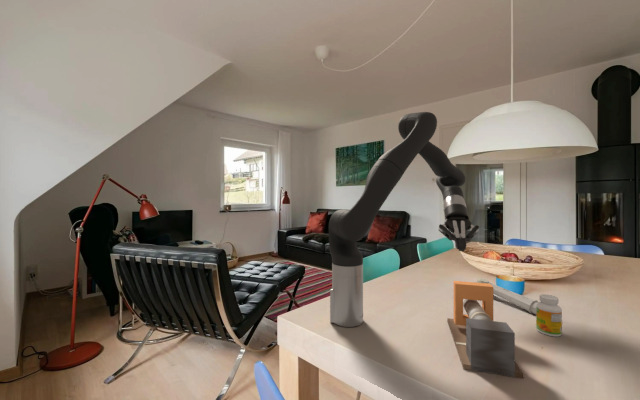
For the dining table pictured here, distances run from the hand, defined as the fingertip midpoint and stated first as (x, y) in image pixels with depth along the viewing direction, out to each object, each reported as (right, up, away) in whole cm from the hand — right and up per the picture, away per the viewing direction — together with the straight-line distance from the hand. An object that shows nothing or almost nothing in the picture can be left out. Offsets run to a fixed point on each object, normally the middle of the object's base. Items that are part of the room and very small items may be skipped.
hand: (461, 249), depth 89 cm
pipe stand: (-6, -20, -20) cm, 29 cm away
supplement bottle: (+17, -20, -13) cm, 30 cm away
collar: (-4, -18, -14) cm, 23 cm away
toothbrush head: (+20, -21, +8) cm, 29 cm away
